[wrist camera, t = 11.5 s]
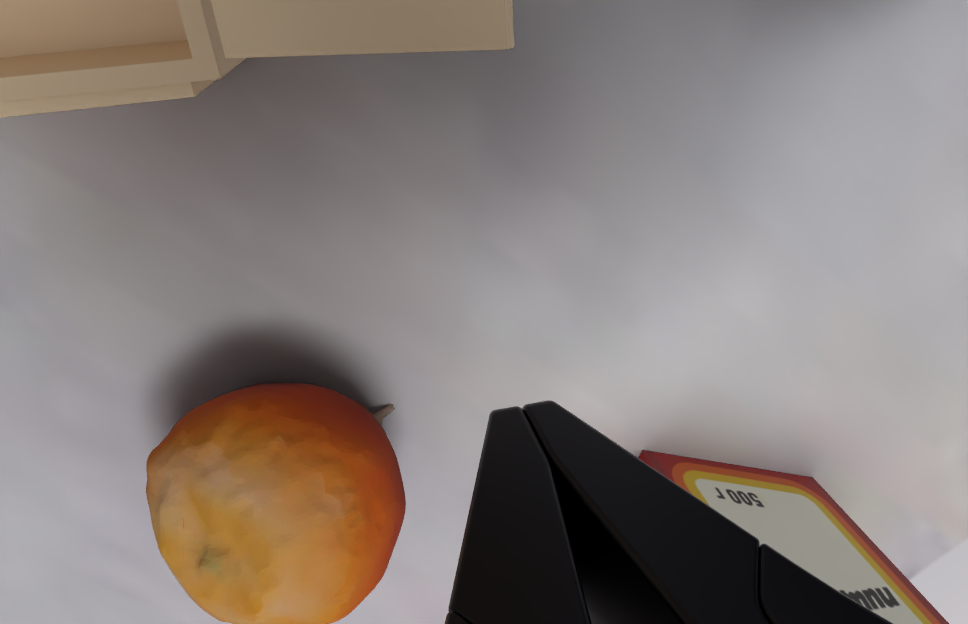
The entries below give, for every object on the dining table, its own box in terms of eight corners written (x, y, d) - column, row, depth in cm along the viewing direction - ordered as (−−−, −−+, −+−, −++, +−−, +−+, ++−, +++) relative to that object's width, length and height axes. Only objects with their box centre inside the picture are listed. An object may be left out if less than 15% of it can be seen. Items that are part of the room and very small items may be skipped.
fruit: (420, 552, 25) (305, 731, 18) (257, 467, 27) (91, 600, 20) (478, 387, 22) (365, 524, 15) (288, 300, 24) (104, 387, 17)
